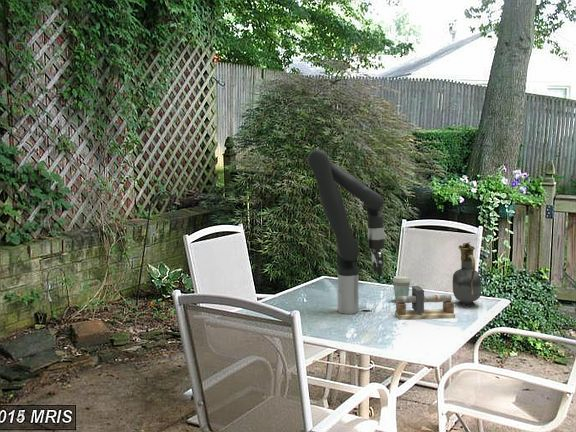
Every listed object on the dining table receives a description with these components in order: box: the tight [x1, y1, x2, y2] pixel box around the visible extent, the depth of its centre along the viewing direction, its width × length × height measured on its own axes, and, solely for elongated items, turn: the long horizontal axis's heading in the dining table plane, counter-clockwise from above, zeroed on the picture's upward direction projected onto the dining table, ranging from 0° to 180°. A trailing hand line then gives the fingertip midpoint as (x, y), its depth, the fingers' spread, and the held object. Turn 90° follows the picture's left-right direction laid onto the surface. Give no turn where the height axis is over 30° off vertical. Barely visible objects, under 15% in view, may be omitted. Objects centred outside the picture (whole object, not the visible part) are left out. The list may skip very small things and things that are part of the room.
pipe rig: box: [394, 294, 456, 321], centre depth 269 cm, size 24×10×9 cm, turn 92°
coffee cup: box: [392, 275, 411, 303], centre depth 295 cm, size 8×9×12 cm
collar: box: [411, 285, 425, 313], centre depth 268 cm, size 3×9×10 cm, turn 2°
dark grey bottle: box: [452, 241, 482, 307], centre depth 284 cm, size 11×19×30 cm, turn 0°
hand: (377, 273), depth 278 cm, fingers open, 8 cm apart
